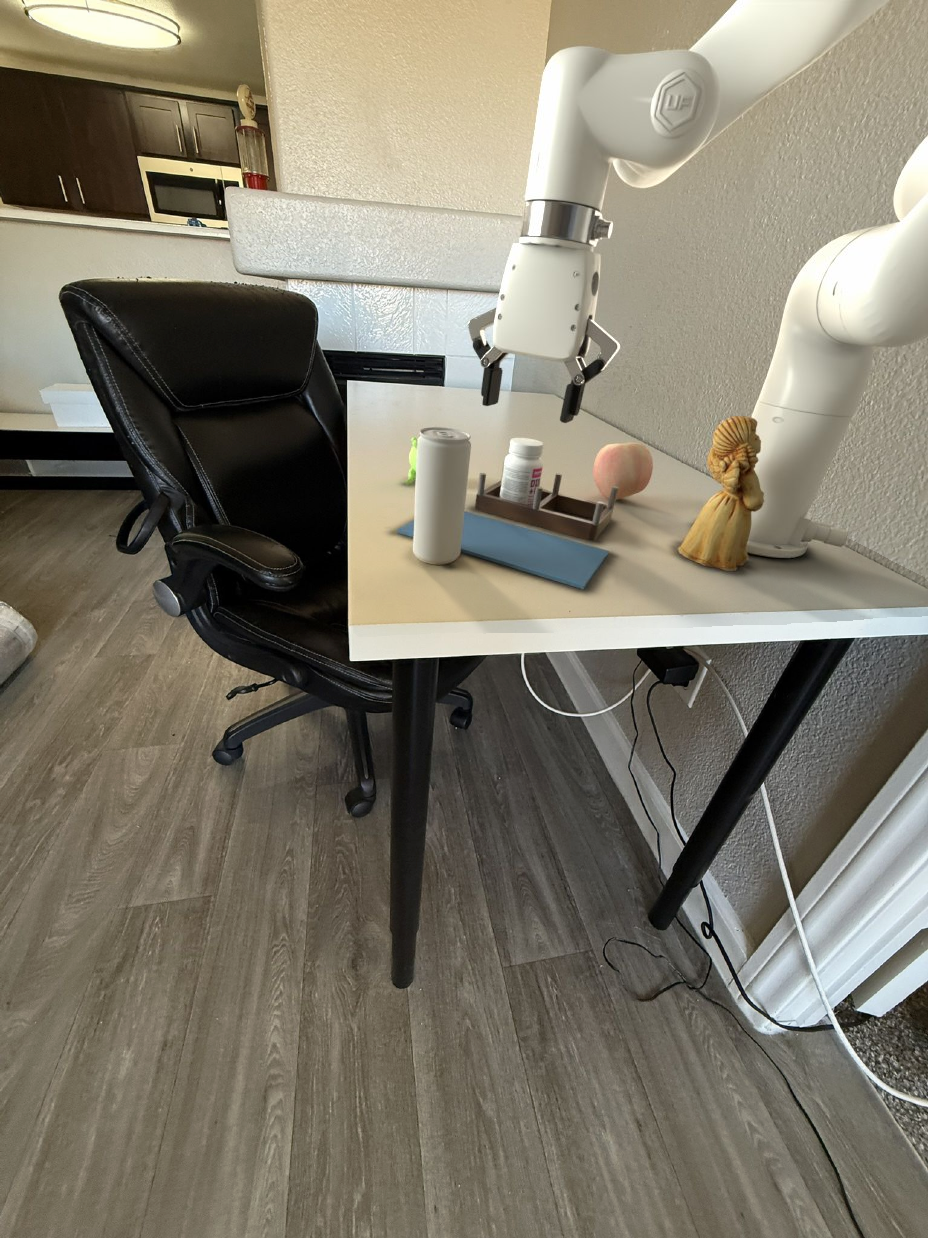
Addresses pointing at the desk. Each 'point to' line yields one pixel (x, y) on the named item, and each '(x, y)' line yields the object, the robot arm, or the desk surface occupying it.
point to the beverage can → (440, 493)
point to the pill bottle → (522, 470)
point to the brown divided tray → (549, 509)
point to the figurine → (728, 498)
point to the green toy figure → (412, 461)
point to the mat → (527, 550)
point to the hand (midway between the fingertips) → (527, 412)
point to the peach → (622, 469)
